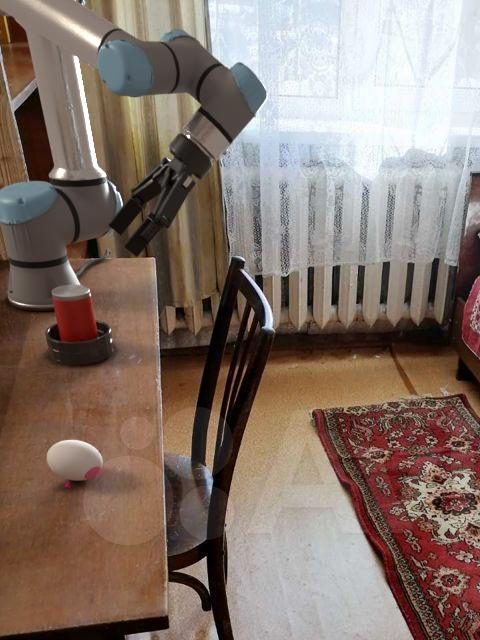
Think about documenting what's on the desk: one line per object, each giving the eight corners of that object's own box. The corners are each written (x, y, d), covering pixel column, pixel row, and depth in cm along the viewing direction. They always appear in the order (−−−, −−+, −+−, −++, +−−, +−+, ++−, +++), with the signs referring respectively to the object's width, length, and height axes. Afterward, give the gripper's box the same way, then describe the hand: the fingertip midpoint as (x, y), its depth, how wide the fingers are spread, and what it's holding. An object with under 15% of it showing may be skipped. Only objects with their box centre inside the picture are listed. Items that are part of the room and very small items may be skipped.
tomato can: (74, 340, 129) (63, 282, 122) (106, 344, 128) (96, 286, 122) (56, 354, 124) (43, 294, 117) (89, 358, 123) (78, 298, 116)
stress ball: (111, 492, 97) (120, 447, 97) (83, 493, 89) (93, 444, 89) (63, 481, 98) (72, 437, 97) (31, 481, 90) (40, 433, 89)
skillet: (69, 337, 131) (65, 315, 129) (124, 344, 130) (120, 323, 128) (37, 361, 122) (32, 338, 119) (96, 369, 121) (91, 346, 118)
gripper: (236, 178, 110) (155, 275, 113) (193, 150, 128) (124, 235, 130) (203, 143, 105) (118, 246, 107) (163, 119, 123) (91, 208, 125)
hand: (121, 240), depth 119 cm, fingers open, 13 cm apart
